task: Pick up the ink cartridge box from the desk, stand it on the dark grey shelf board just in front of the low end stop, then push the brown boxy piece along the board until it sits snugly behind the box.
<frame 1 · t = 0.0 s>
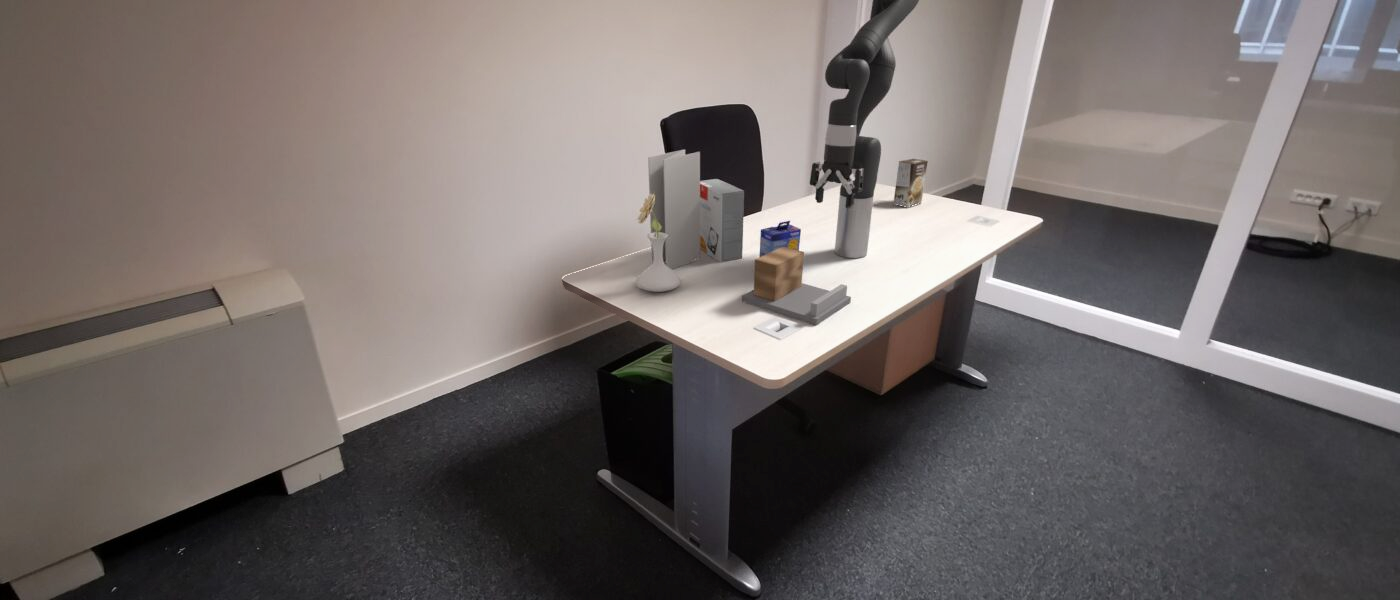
hand: (833, 205, 165), 17 cm above the table, tool pointing down, fingers open, 8 cm apart
coffee box: (907, 205, 230), on the table
flower in vase: (658, 289, 157), on the table
ink cartridge box: (778, 272, 168), on the table
brochure: (676, 263, 175), on the table
brown boxy piece: (778, 273, 150), point 6 cm above the table, slide at 3.0 cm
shelf board: (795, 301, 149), on the table
hard drive box: (718, 253, 182), on the table
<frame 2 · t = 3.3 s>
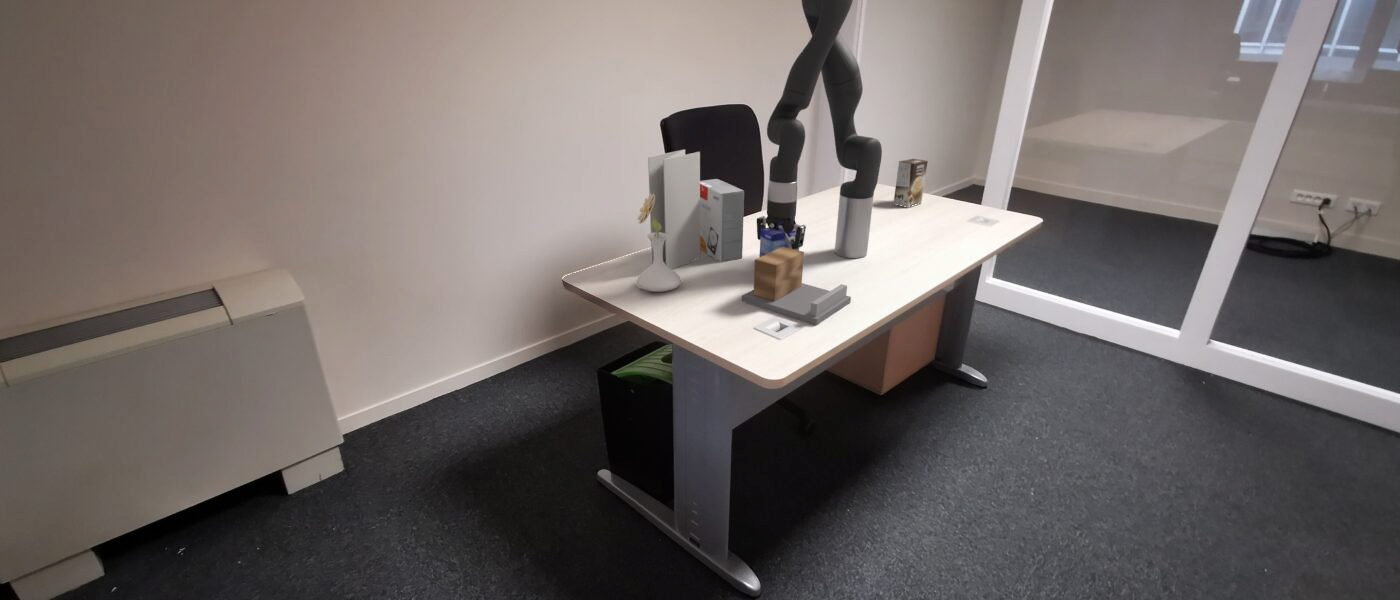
hand: (778, 258, 166), 4 cm above the table, tool pointing down, fingers closed on ink cartridge box, 6 cm apart
ink cartridge box: (778, 272, 168), on the table, touching gripper
everything else where it was.
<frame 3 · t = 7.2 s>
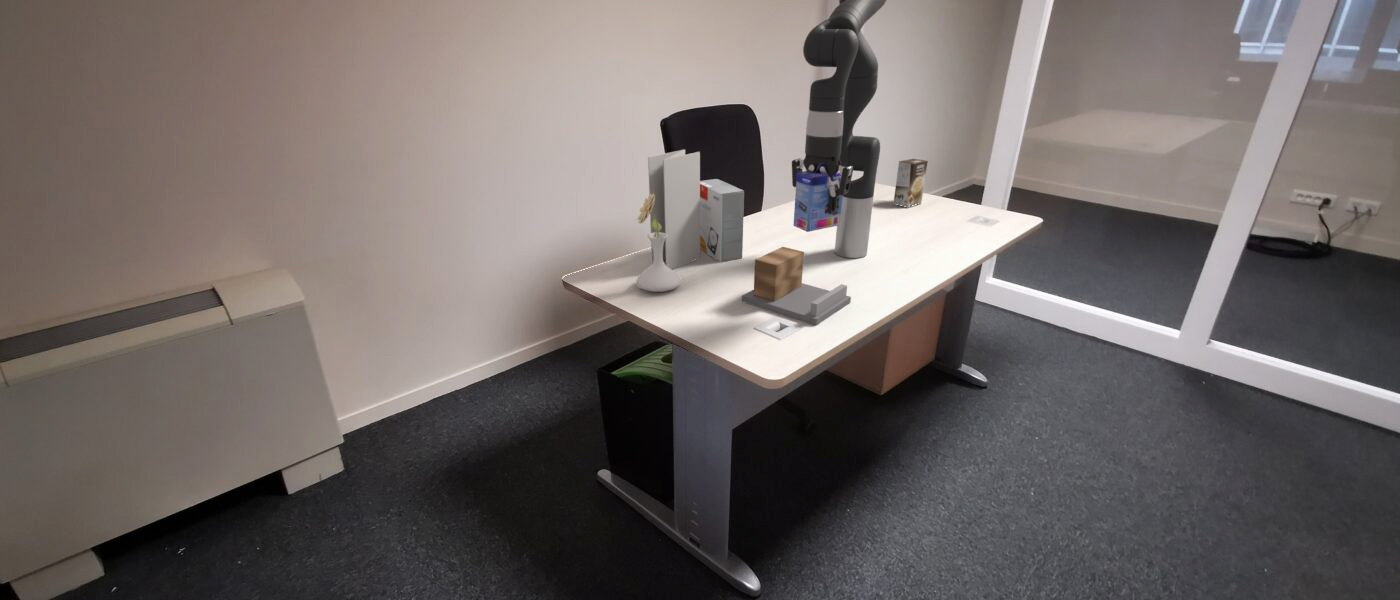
hand: (818, 209, 138), 24 cm above the table, tool pointing down, fingers closed on ink cartridge box, 6 cm apart
ink cartridge box: (817, 227, 139), point 20 cm above the table, touching gripper
everything else where it was.
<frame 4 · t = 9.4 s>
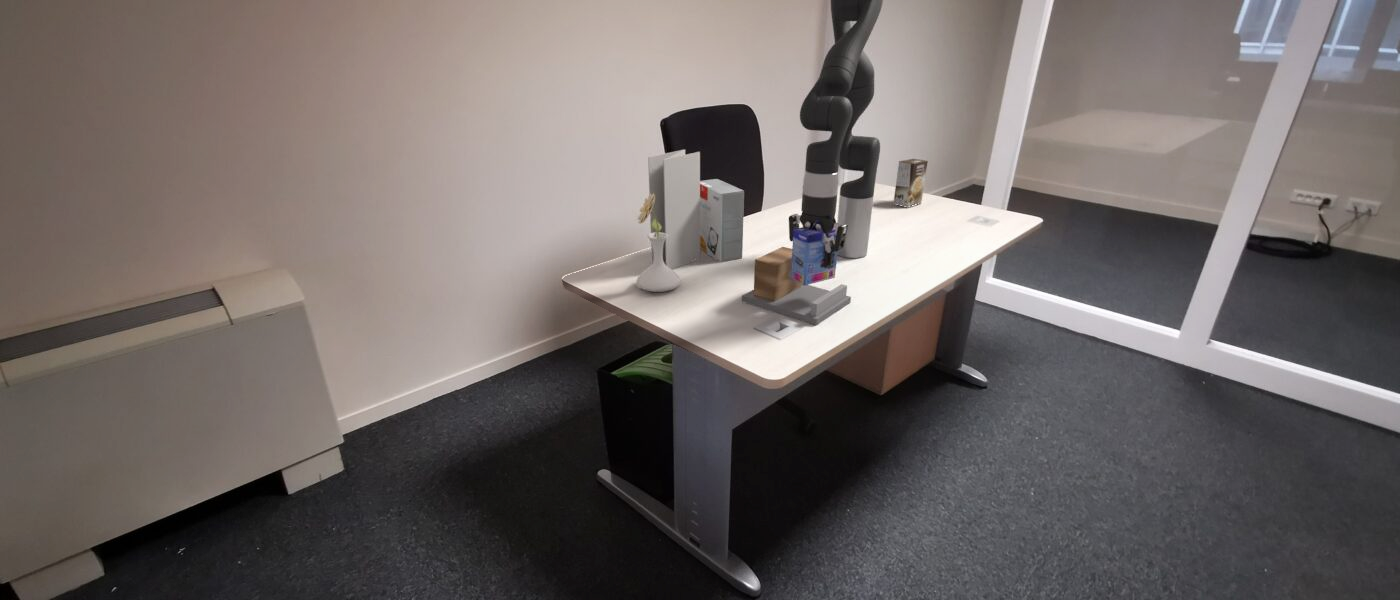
hand: (814, 263, 143), 11 cm above the table, tool pointing down, fingers closed on ink cartridge box, 6 cm apart
ink cartridge box: (813, 279, 144), point 7 cm above the table, touching gripper
everything else where it was.
when the fingers open (7 cm above the table, at t = 10.9 s): ink cartridge box drops 1 cm, resting on shelf board.
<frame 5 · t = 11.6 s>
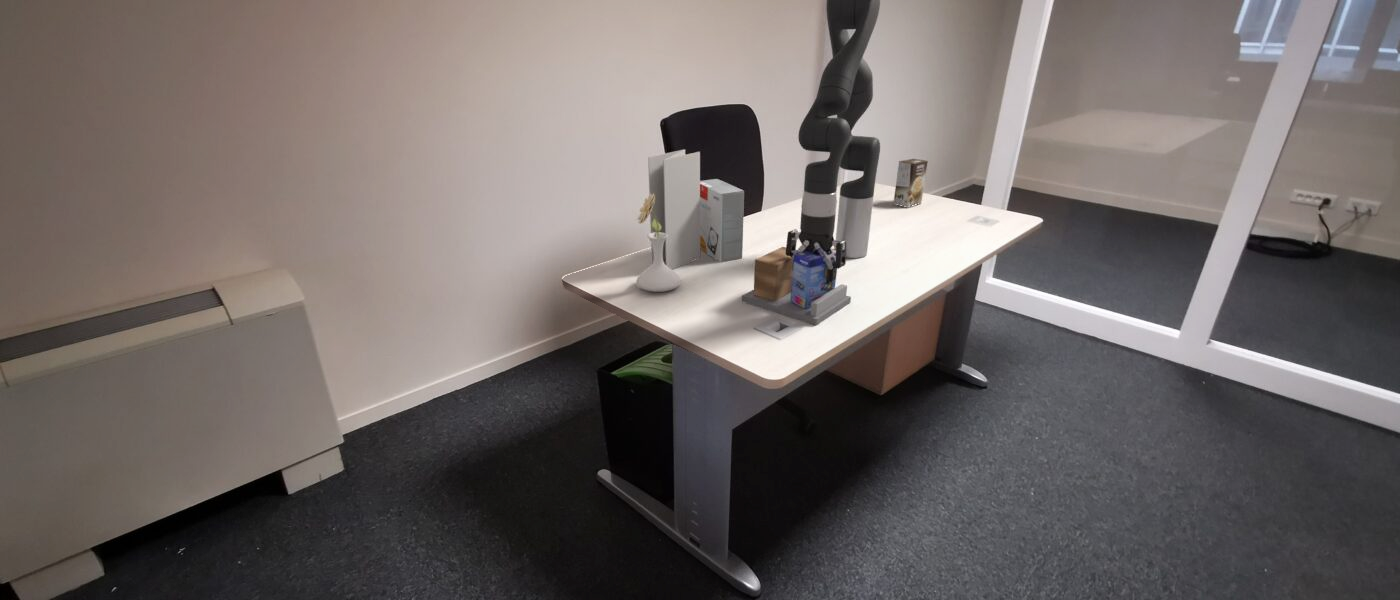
hand: (813, 278, 144), 7 cm above the table, tool pointing down, fingers open, 8 cm apart
ink cartridge box: (812, 301, 146), point 1 cm above the table, touching shelf board
brown boxy piece: (778, 273, 150), point 6 cm above the table, slide at 3.0 cm, touching gripper
everything else where it was.
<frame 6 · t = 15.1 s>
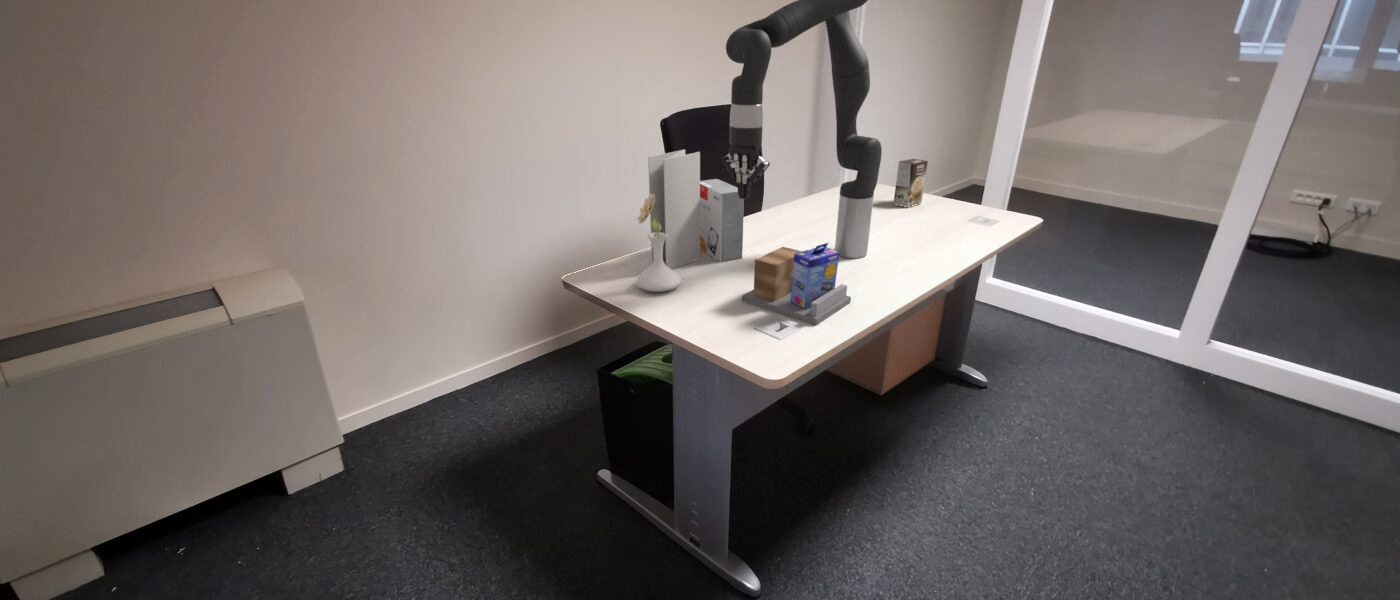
hand: (743, 198, 150), 23 cm above the table, tool pointing down, fingers closed
brown boxy piece: (778, 273, 150), point 6 cm above the table, slide at 3.0 cm
everything else where it was.
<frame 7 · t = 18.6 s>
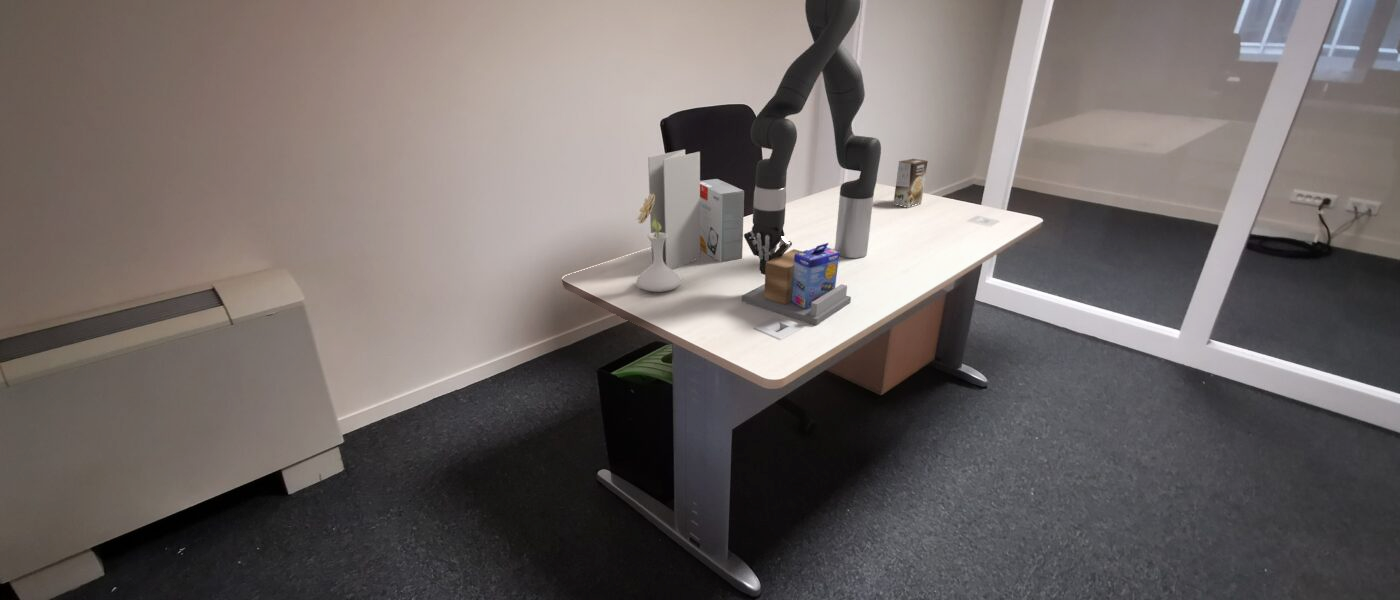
hand: (765, 273, 153), 5 cm above the table, tool pointing down, fingers closed
ink cartridge box: (812, 301, 146), point 1 cm above the table, touching brown boxy piece, shelf board
brown boxy piece: (789, 276, 148), point 6 cm above the table, slide at -0.1 cm, touching ink cartridge box, hand
everything else where it was.
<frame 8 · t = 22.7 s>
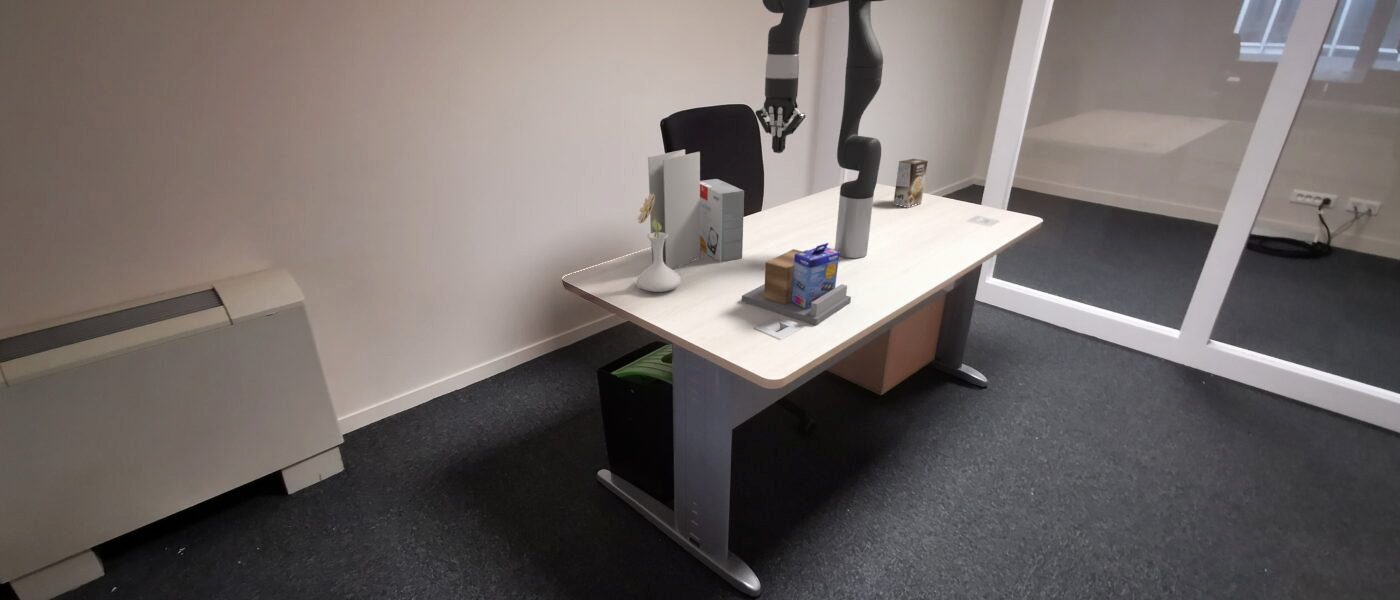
hand: (778, 152, 149), 33 cm above the table, tool pointing down, fingers closed
ink cartridge box: (812, 301, 146), point 1 cm above the table, touching shelf board
brown boxy piece: (789, 276, 148), point 6 cm above the table, slide at 0.0 cm
everything else where it was.
at the end: ink cartridge box 0.3 cm from the target spot, point 1.3 cm above the table; ink cartridge box tilted 0°; brown boxy piece slide at 0.0 cm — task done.
